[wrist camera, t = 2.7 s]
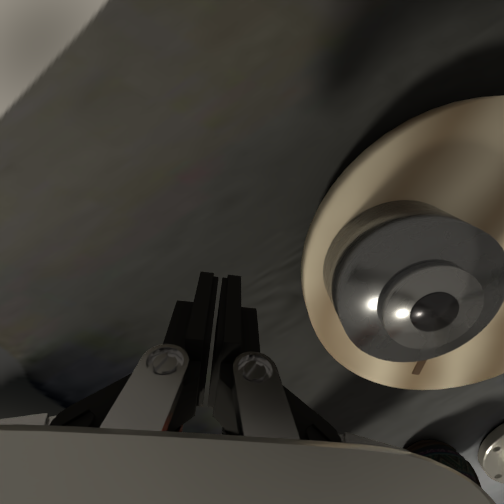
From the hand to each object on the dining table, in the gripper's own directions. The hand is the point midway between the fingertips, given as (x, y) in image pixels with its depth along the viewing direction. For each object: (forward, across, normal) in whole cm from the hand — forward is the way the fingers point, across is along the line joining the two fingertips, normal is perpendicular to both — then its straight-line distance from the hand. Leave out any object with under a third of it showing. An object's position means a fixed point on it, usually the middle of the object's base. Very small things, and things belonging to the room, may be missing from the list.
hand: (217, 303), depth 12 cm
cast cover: (+7, -11, 0) cm, 13 cm away
